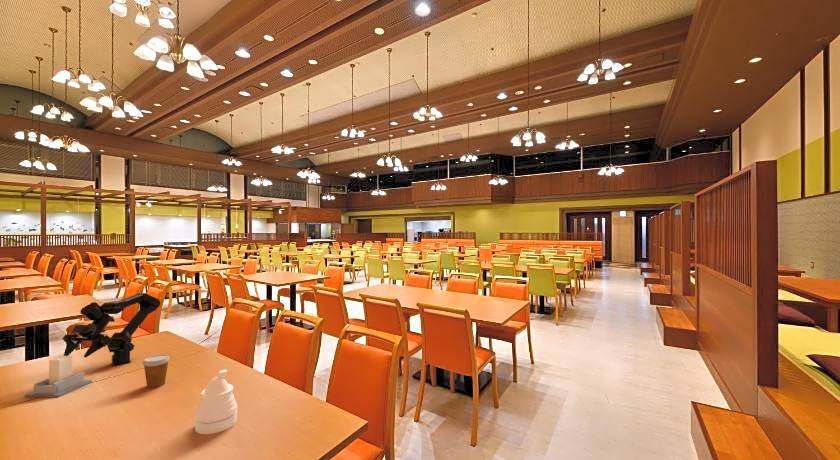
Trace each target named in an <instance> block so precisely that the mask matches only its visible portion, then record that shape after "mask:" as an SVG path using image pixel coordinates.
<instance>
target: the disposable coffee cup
mask: <svg viewBox="0 0 840 460" xmlns="http://www.w3.org/2000/svg"><path fill="white" fill-rule="evenodd" d="M170 359H171V358H170V357H169V355H168V354H156V355H150V356H148V357H146V358H145V359H144V360H143V362H142V365H143V368H144V374H145V382H146V388H148V389H154V388H159V387H162V386H163V385H165V383H166V378H167V373H168V366H169V361H170Z"/></svg>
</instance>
